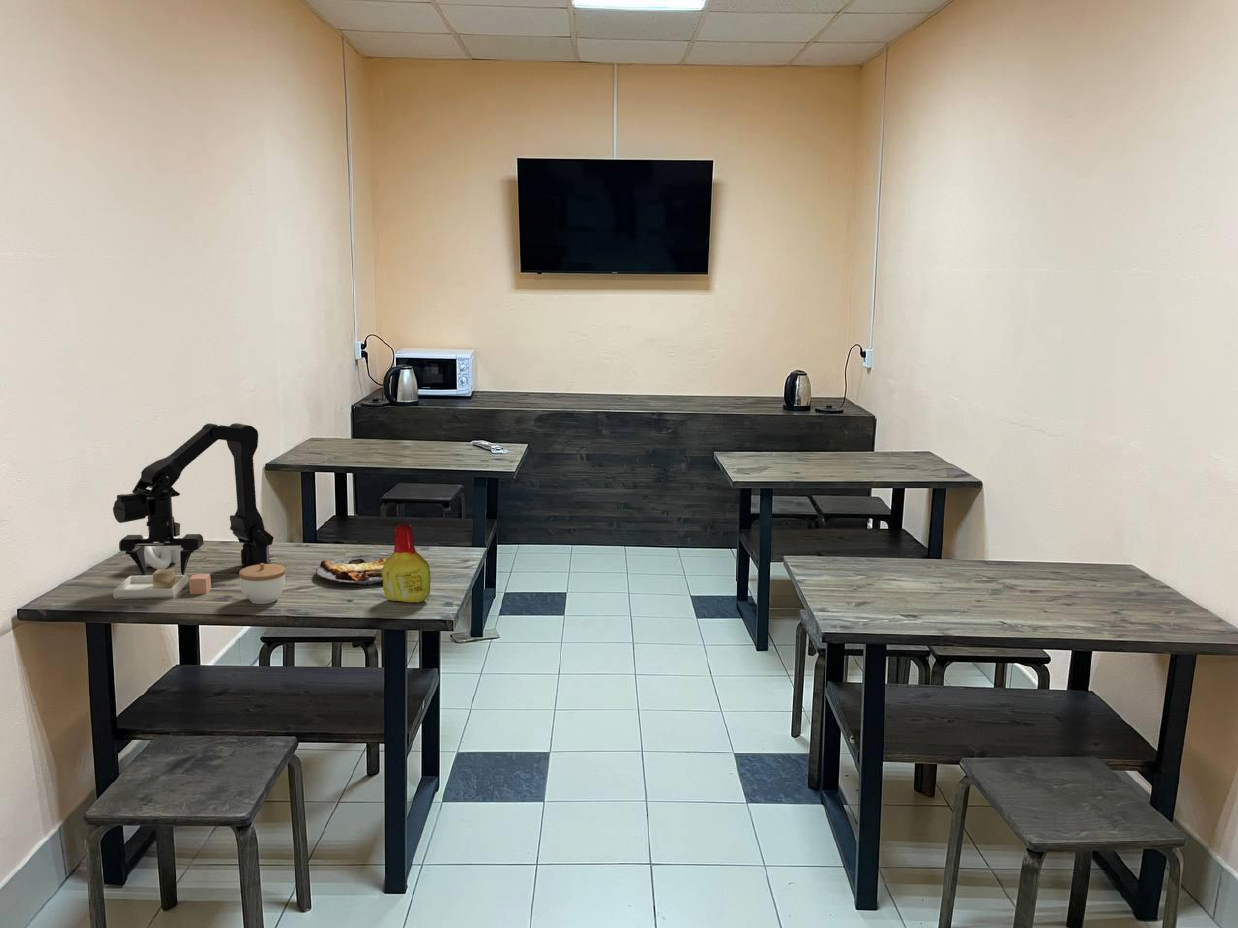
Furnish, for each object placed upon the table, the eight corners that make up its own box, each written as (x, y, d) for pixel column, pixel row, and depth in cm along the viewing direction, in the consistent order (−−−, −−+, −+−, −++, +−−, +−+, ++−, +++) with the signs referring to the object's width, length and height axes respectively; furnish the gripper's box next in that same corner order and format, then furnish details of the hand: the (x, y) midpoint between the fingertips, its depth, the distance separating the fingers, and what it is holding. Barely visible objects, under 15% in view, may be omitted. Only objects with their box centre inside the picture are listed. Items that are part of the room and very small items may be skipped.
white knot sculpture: (169, 574, 258) (167, 541, 256) (124, 572, 258) (122, 540, 256) (188, 561, 269) (186, 530, 267) (146, 560, 269) (144, 529, 268)
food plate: (321, 591, 247) (321, 578, 246) (310, 567, 267) (310, 555, 267) (418, 584, 257) (419, 571, 256) (400, 561, 278) (401, 549, 277)
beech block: (175, 583, 248) (174, 568, 248) (170, 588, 244) (169, 573, 244) (158, 583, 248) (157, 569, 247) (153, 588, 244) (152, 573, 243)
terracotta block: (211, 588, 247) (210, 573, 246) (206, 593, 243) (205, 578, 242) (194, 589, 246) (193, 574, 246) (190, 594, 242) (189, 578, 242)
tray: (187, 582, 251) (187, 574, 250) (173, 597, 239) (173, 589, 239) (130, 583, 249) (130, 575, 248) (113, 599, 237) (113, 590, 237)
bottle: (379, 603, 239) (377, 525, 235) (388, 595, 245) (386, 519, 242) (425, 606, 238) (424, 528, 234) (433, 598, 244) (432, 521, 240)
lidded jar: (243, 609, 232) (241, 572, 231) (238, 596, 242) (236, 560, 240) (289, 603, 237) (288, 567, 235) (282, 591, 246) (281, 555, 245)
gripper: (207, 507, 252) (210, 565, 255) (131, 508, 249) (135, 566, 252) (195, 518, 241) (199, 577, 244) (116, 518, 238) (120, 579, 241)
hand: (164, 574), depth 246 cm, fingers open, 9 cm apart
